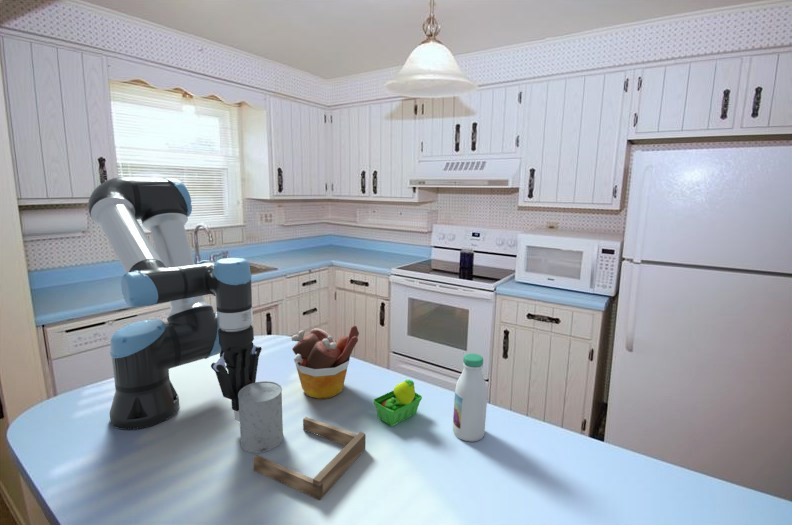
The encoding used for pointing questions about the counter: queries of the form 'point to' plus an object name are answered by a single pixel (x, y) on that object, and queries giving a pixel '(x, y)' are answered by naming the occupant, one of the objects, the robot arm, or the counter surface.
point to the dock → (329, 472)
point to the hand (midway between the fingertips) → (241, 419)
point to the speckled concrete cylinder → (260, 416)
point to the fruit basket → (398, 403)
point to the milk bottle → (470, 400)
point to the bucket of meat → (323, 361)
